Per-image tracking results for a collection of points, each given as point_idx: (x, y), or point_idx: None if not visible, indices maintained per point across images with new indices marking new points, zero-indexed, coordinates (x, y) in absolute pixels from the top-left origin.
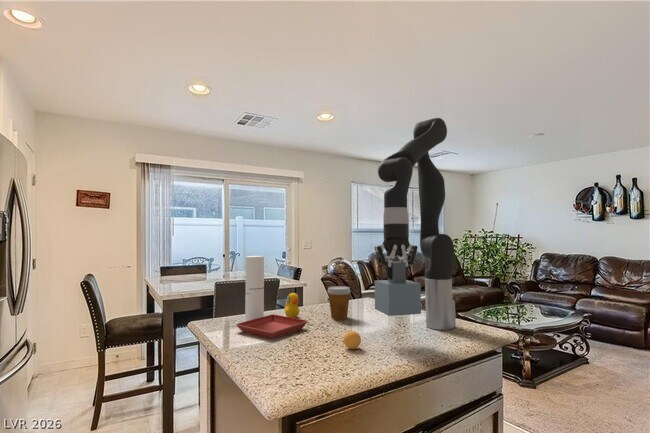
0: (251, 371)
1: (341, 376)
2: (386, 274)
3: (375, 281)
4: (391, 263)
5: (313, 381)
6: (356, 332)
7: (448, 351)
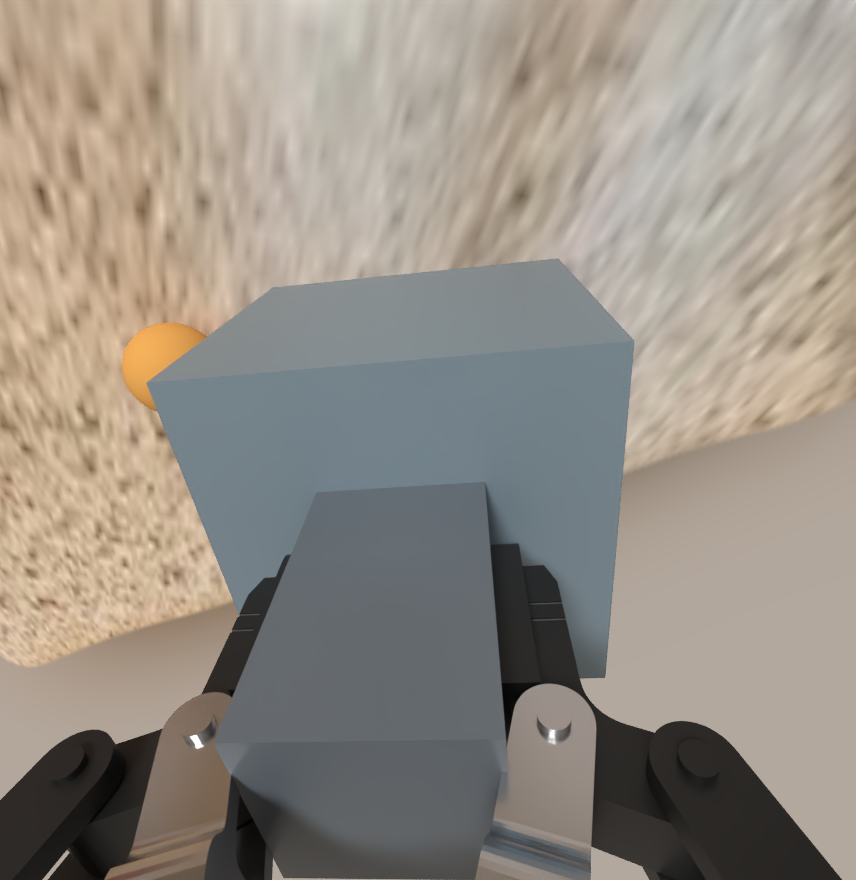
0: None
1: (160, 583)
2: (253, 618)
3: (162, 408)
4: (262, 837)
5: (83, 595)
6: None
7: None
